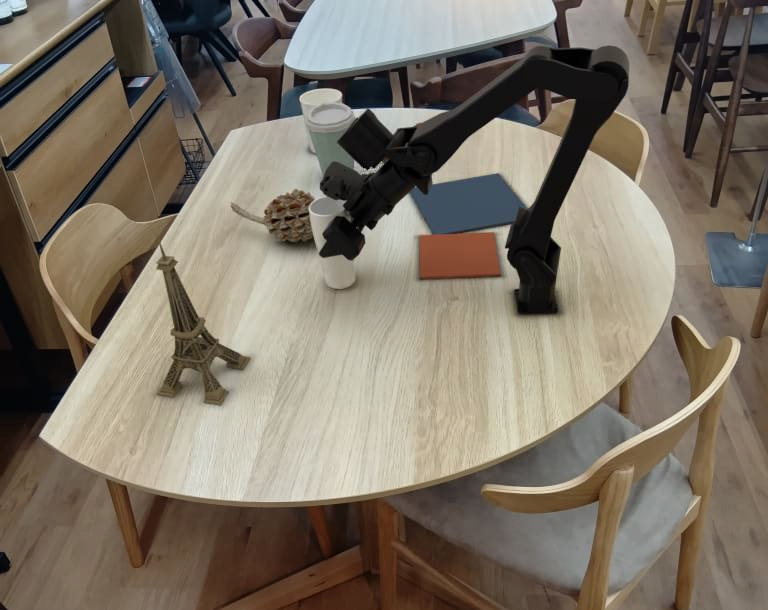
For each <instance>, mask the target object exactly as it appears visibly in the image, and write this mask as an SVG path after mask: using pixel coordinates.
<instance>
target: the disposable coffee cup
mask: <svg viewBox="0 0 768 610" xmlns="http://www.w3.org/2000/svg"><path fill="white" fill-rule="evenodd" d="M355 119H356V116H355V112H354V110H352V108H351V107H350V106H348V105H346V104H345V103H343V102H342V103H336V102H331V103H324V104H320V105H317V106H314V107H312V108H311V109H310V110H309V112H308V113H307V117H306V128H307V129H308V131H309V134H310V137H311V140H312V143H313V146H314V149H315V152H316V153H315V155H316V159H317V161H318V165H319V168H320V171H321V173H322V177H323V176H324V173H325V171H326V169H327V168H328V167H329V165H330V164H331V163H332V162H334V161H335V162H339V163H341V164H343V165H345V166H347V167H349V168H351V169H353V170H355V160H354V159H353V158H352V157H351V156H350V155H349V154H348V153H347V152H346V151H345V150H344V149H343V148H342V147H341V146H340V145H339V144H337V143H336V142H337V140H338V139H339V138H340V136H341V135H342V134H343V133H344V132H345V130H346V129H347V128H348V127H349V126H350V124H351V123H352V122H353V121H354V120H355ZM306 128H305V129H306Z"/></svg>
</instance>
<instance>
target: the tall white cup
mask: <svg viewBox="0 0 768 610" xmlns="http://www.w3.org/2000/svg"><path fill="white" fill-rule="evenodd" d="M345 202H346V201H342V200H340V199H339V200H334V199H332V198H330V197H328V196H326V195H324V196H320V197H318V198H316V199H315V200H314V201H313V202H312V203H311V204H310V205H309V216H310V223H311V228H312V232H313V236H312V237H313V240H314V243H315V246H316V250H317V253H318V257H319V261H320V264H321V268H322V271H323V275H324V281H325V283H326V285H327V286H328V287H329V288H332V289H335V290H342V289H347V288H349V287H350V286H352V285H353V284H354V283H355V281H356V270H355V259H354V260H352V261H350V260H348V259H346V258H345V257H344V256H343V255H338V256H332V257H327V258H322V257H321V256H320V255H319V252H320V250H321V249H322V247H323V246H324V244H325V242H326V240H325V239H324V237H323V235H322V233H323V232H324V230H325V228H326V227H327V225H328V224H329V222H330V221H331V220H332V219H333V218H334V217H335V216H344V217H345V218H346V219H347V220H348V221H349V222H350V221H351V219H352V218H351V216H350V215H349V214H348V213H347V212H348V211H347V210H346V209H345V208H344V207H343V204H344V203H345Z"/></svg>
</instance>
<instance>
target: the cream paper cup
mask: <svg viewBox="0 0 768 610" xmlns="http://www.w3.org/2000/svg"><path fill="white" fill-rule="evenodd" d="M298 100H299V104H300V108H301V112H302V118H303V123H304V127H305V132H306V137H307V141H308V147H309V150H310V151H311V152H312V153H314V154H316V152H315V149H314V146H313V143H312V140H311V137H310V134H309V131H308V129H307V128H306V117H307V113H308V112H309V110H310V109H311V108H312V107H314V106H317V105H320V104H324V103H331V102H336V103H342V104H343V93H342V92H341V90H338V89H335V88H315V89H312V90H308V91H305V92H303V93H302V94H301V95H300V96H299V99H298Z"/></svg>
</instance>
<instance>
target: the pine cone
mask: <svg viewBox="0 0 768 610" xmlns="http://www.w3.org/2000/svg"><path fill="white" fill-rule="evenodd" d="M314 200H316V199H315V196H313V195H312V194H311V192H310V191H309V192H306V191H304V190H302V189H301V190H299V189H297V188H295V189H293V190H292V191H291V193H290V192H286V193H285V194H280V195H278V196H276V198H274V199H273V200H272V201H269V203H268V205H267V206H265V208H264V210H263V212H264V216H263V217H262V216H260V215H259V216H258V215H256V214H254V213H251V212H249V211H247V210H245V209H243V208H242V207H241V206H240V205H239V204H236V203H234V202H232V201H230V202H229V203H230V206H229V207H230V208H231V209H232V211H233V212H234V213H236V214H237V215H238V216H239V217H243V218H245V219H247V220H250V221H252V222H255V223H258V224H260V225H263V226H265V227H266V230H268V233H269V235H271V236H273V238H274V240H276V241H279V242H282V241H283V242H285V241H286V240H287V241H288V242H292V243H293V242H294V243H298V242H299V241H300V240H301V241H302V242H306V241H308V240H312V238H313V237H314V236H313V232H312V228H311V223H310V216H309V205H310V204H311V203H312V202H313V201H314Z"/></svg>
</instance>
